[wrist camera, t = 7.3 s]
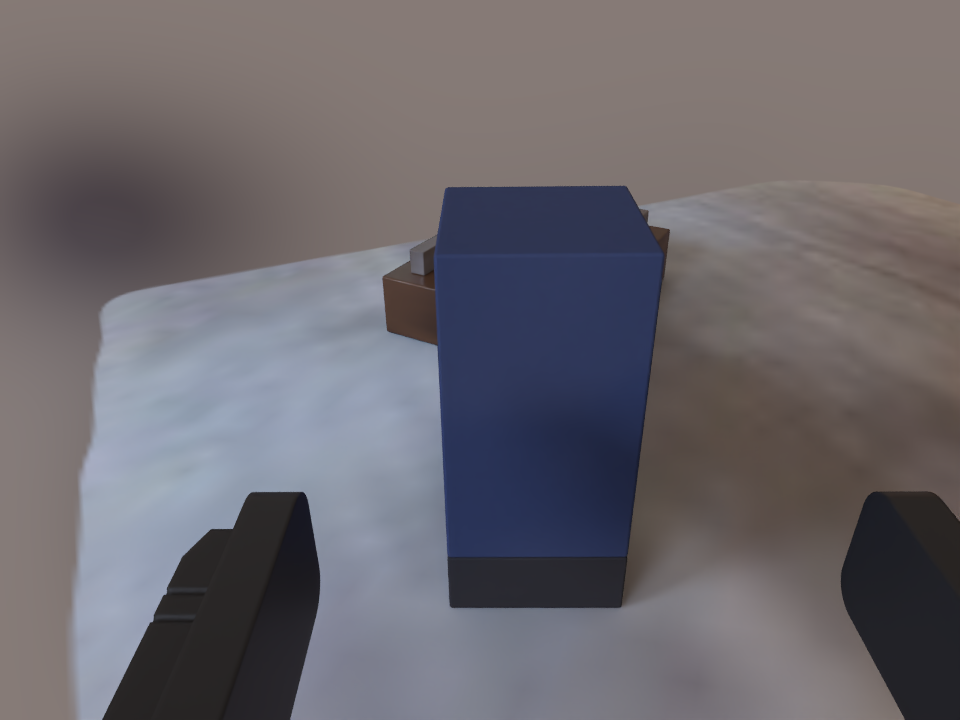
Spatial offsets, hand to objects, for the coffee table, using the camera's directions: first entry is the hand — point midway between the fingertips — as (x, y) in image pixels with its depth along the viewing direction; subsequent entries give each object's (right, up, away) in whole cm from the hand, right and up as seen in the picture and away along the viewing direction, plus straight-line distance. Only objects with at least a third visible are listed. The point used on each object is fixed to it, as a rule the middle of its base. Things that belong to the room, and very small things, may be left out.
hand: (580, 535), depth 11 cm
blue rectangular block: (0, -2, +15) cm, 15 cm away
